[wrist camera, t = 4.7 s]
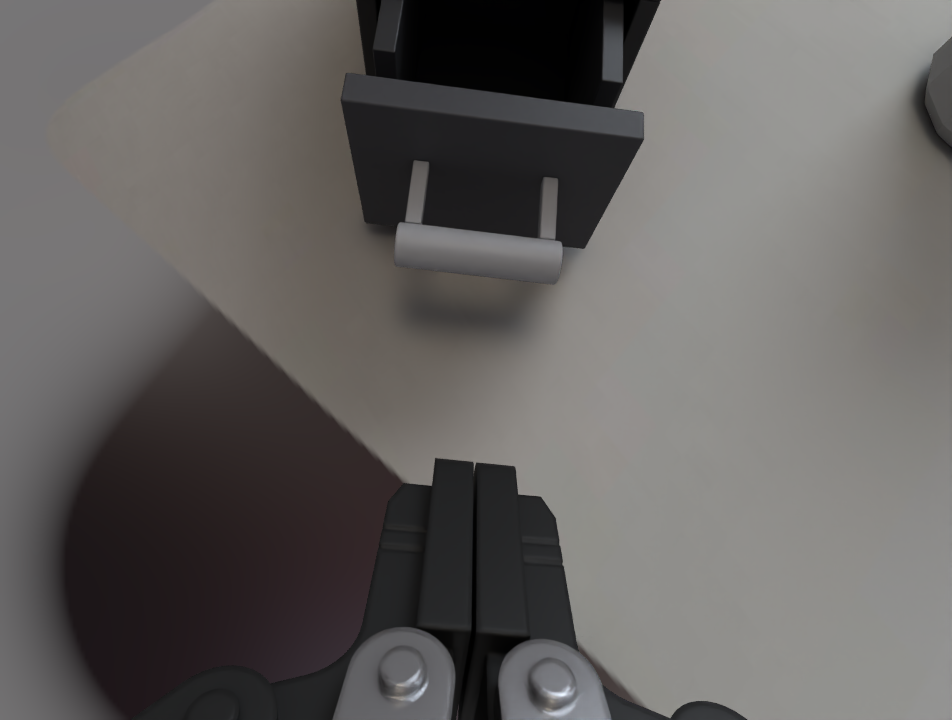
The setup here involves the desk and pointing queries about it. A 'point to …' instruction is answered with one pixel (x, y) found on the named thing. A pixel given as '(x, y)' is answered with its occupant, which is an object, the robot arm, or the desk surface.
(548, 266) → the drawer
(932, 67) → the jar
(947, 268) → the desk surface
